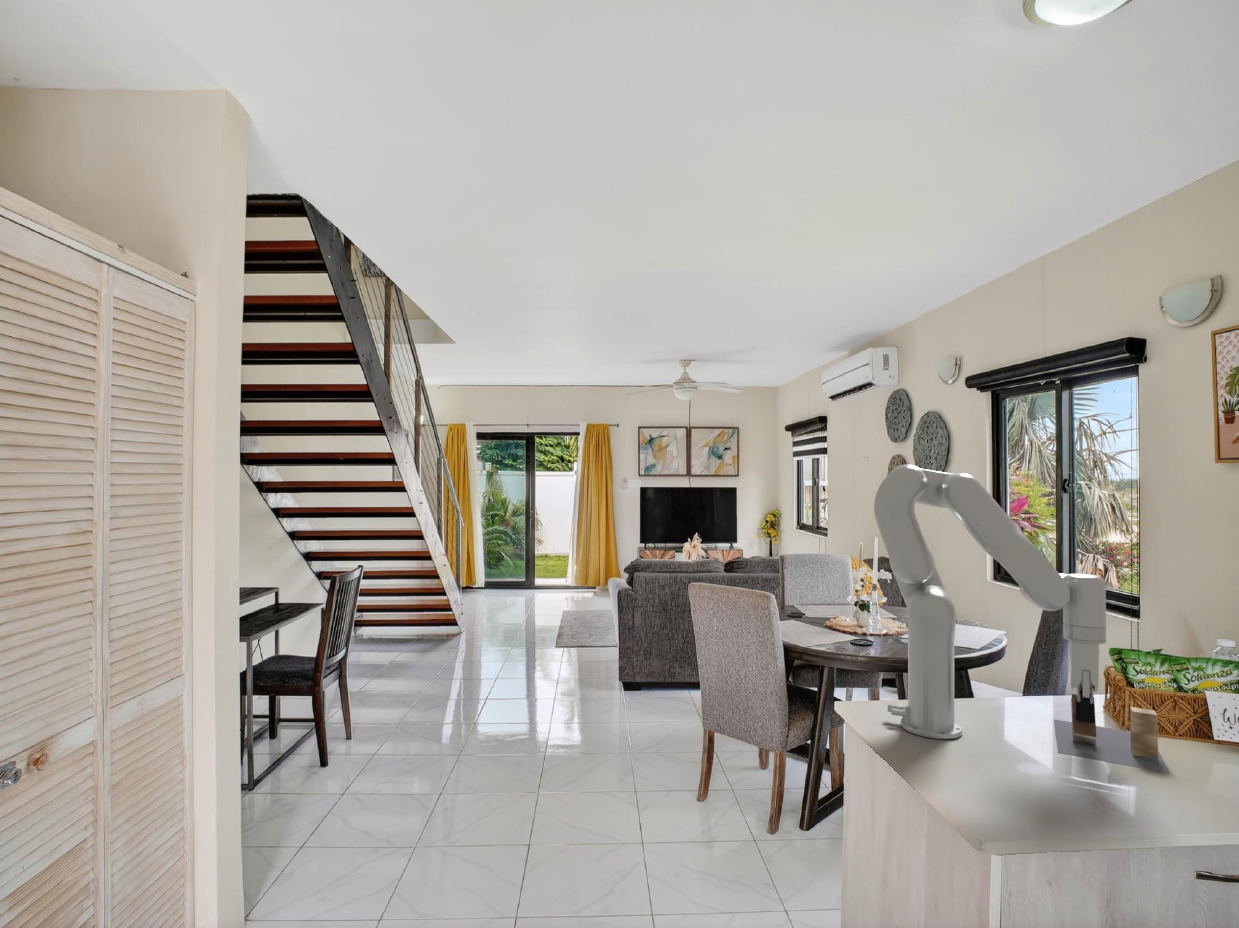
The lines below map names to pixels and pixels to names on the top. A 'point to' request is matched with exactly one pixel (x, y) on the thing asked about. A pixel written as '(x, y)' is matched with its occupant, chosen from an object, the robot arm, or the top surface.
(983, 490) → the robot arm
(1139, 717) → the oak block
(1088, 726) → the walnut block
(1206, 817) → the top surface
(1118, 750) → the rubber mat
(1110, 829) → the top surface
